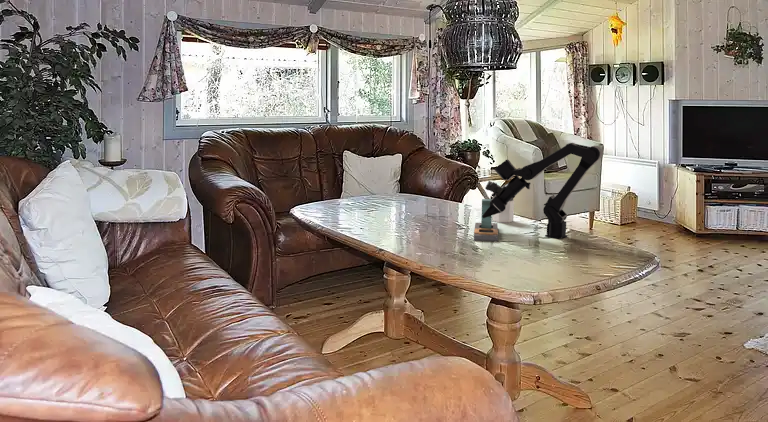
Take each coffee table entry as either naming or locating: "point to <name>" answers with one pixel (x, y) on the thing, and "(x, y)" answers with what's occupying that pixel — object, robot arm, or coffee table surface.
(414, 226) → the coffee table surface
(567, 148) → the robot arm
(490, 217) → the peg
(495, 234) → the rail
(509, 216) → the jar
